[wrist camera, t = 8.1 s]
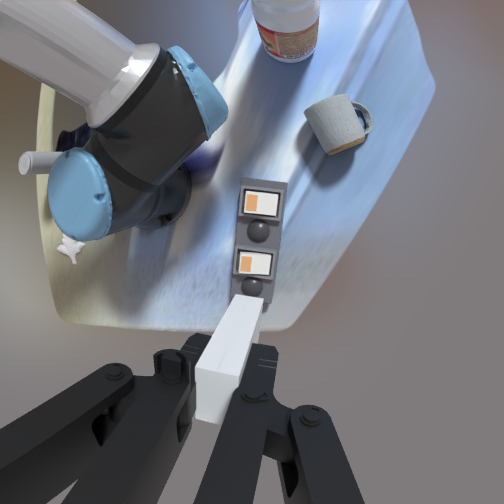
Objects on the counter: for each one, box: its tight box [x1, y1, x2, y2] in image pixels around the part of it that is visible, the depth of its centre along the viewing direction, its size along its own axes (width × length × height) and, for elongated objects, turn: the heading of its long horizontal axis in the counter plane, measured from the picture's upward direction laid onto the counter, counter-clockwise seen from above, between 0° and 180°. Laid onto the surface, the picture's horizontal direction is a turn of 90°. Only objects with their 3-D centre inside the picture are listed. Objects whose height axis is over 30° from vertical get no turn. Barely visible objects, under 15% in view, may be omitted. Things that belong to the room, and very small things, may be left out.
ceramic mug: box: [304, 94, 373, 155], centre depth 39 cm, size 11×8×8 cm
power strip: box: [231, 178, 287, 303], centre depth 47 cm, size 7×20×5 cm, turn 174°
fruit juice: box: [251, 0, 320, 63], centre depth 27 cm, size 9×9×28 cm
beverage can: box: [19, 152, 63, 175], centre depth 46 cm, size 5×5×12 cm
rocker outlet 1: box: [244, 191, 278, 216], centre depth 43 cm, size 5×3×1 cm
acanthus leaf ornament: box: [57, 233, 85, 265], centre depth 56 cm, size 8×7×2 cm
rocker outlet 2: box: [238, 252, 271, 275], centre depth 46 cm, size 5×3×1 cm
